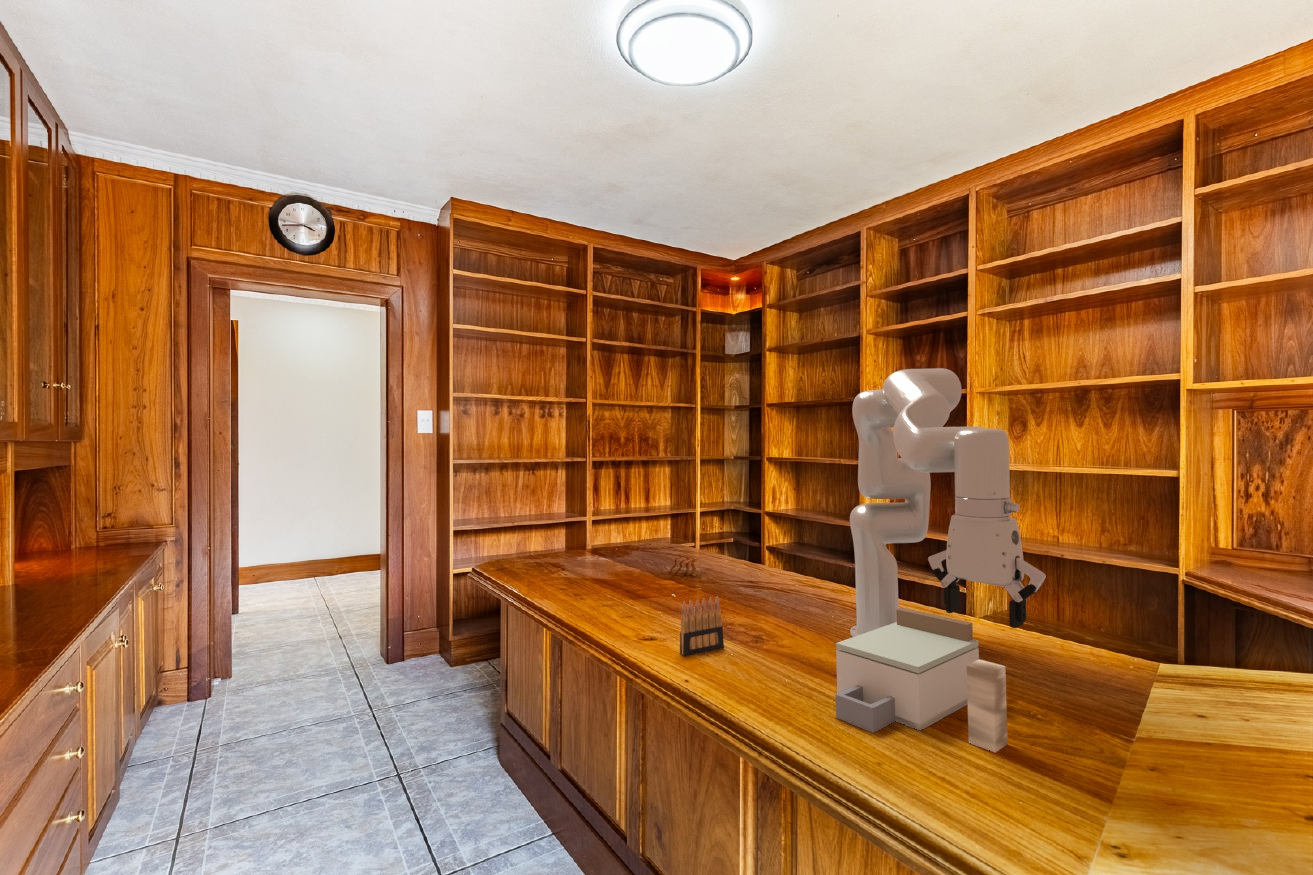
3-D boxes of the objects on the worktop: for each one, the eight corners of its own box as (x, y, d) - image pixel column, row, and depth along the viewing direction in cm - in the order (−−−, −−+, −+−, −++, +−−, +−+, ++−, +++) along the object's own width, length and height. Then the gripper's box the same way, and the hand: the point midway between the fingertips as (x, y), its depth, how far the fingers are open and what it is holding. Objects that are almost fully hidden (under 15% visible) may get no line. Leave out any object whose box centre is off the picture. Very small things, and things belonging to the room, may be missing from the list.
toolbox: (899, 672, 126) (898, 627, 126) (979, 697, 114) (978, 647, 114) (815, 709, 111) (813, 658, 111) (898, 742, 98) (896, 685, 98)
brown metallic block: (981, 734, 100) (979, 659, 100) (1007, 744, 97) (1005, 666, 97) (968, 742, 97) (966, 665, 97) (995, 752, 94) (993, 672, 94)
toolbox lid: (898, 626, 126) (897, 606, 126) (978, 645, 114) (977, 623, 114) (836, 648, 114) (835, 626, 114) (918, 673, 102) (917, 648, 102)
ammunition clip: (683, 656, 139) (682, 602, 139) (679, 654, 141) (678, 600, 141) (724, 648, 144) (722, 595, 144) (719, 645, 146) (718, 594, 146)
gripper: (1054, 511, 92) (1055, 626, 93) (940, 501, 106) (942, 601, 107) (1032, 516, 88) (1033, 638, 88) (916, 505, 102) (918, 610, 102)
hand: (983, 618), depth 97 cm, fingers open, 9 cm apart
